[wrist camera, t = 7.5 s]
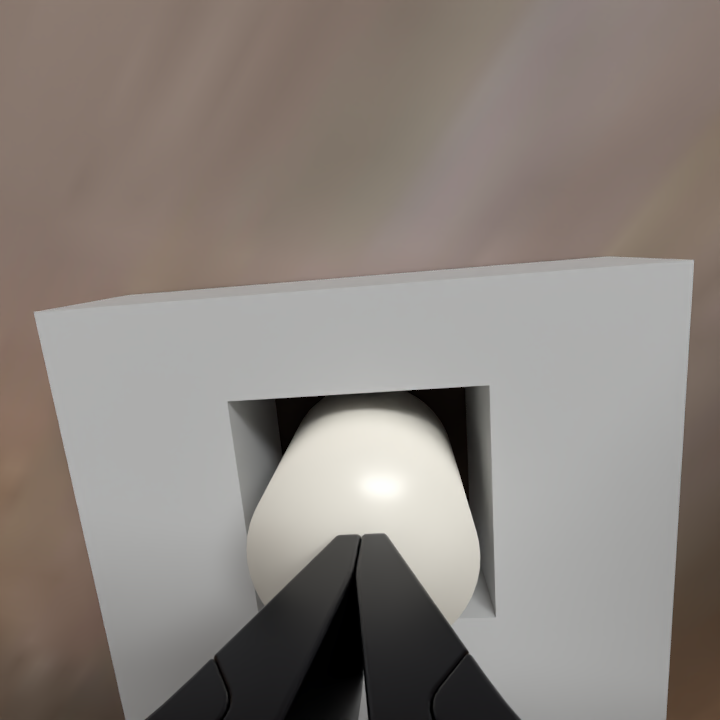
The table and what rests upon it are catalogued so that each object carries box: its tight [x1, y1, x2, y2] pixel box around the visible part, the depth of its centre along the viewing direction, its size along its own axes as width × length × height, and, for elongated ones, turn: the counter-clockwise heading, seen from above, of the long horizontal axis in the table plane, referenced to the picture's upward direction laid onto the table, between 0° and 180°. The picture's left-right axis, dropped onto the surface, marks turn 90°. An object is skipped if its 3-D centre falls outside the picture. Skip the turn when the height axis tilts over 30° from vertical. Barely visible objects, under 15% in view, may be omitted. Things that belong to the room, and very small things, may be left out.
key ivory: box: [246, 391, 480, 625], centre depth 10 cm, size 4×4×4 cm
